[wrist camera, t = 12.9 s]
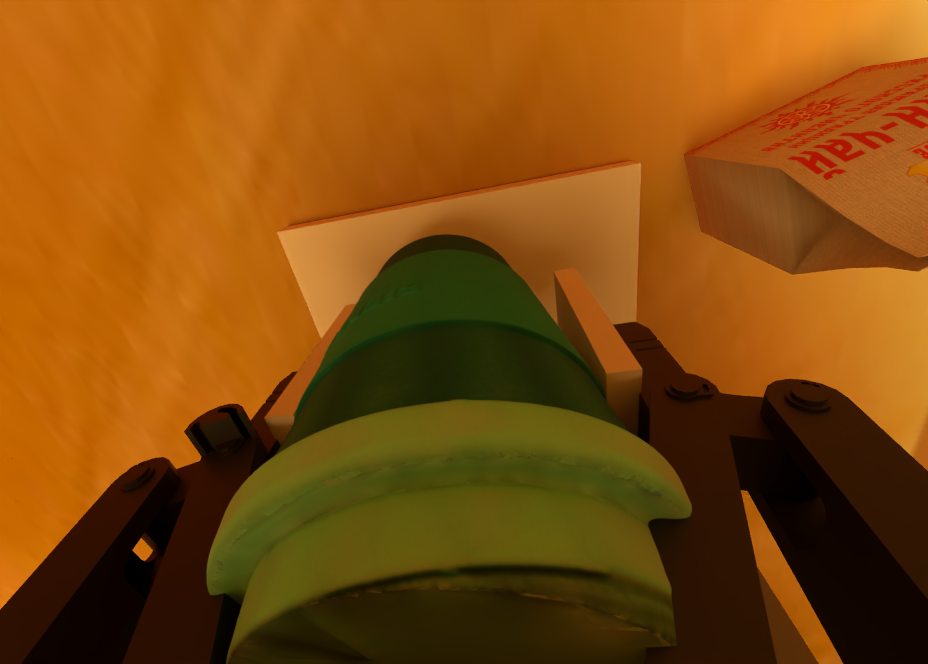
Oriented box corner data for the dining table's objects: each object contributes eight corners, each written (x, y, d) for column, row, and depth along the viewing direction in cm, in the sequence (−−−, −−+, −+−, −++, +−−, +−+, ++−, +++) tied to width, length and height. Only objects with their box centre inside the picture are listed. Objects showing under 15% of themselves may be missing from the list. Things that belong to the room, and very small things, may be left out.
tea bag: (864, 159, 16) (1317, 199, 8) (701, 231, 18) (915, 332, 9) (862, 67, 15) (1424, -18, 6) (684, 154, 16) (920, 188, 8)
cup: (488, 168, 13) (542, 360, 2) (606, 333, 16) (861, 746, 5) (330, 302, 16) (24, 676, 5) (456, 423, 18) (429, 819, 8)
